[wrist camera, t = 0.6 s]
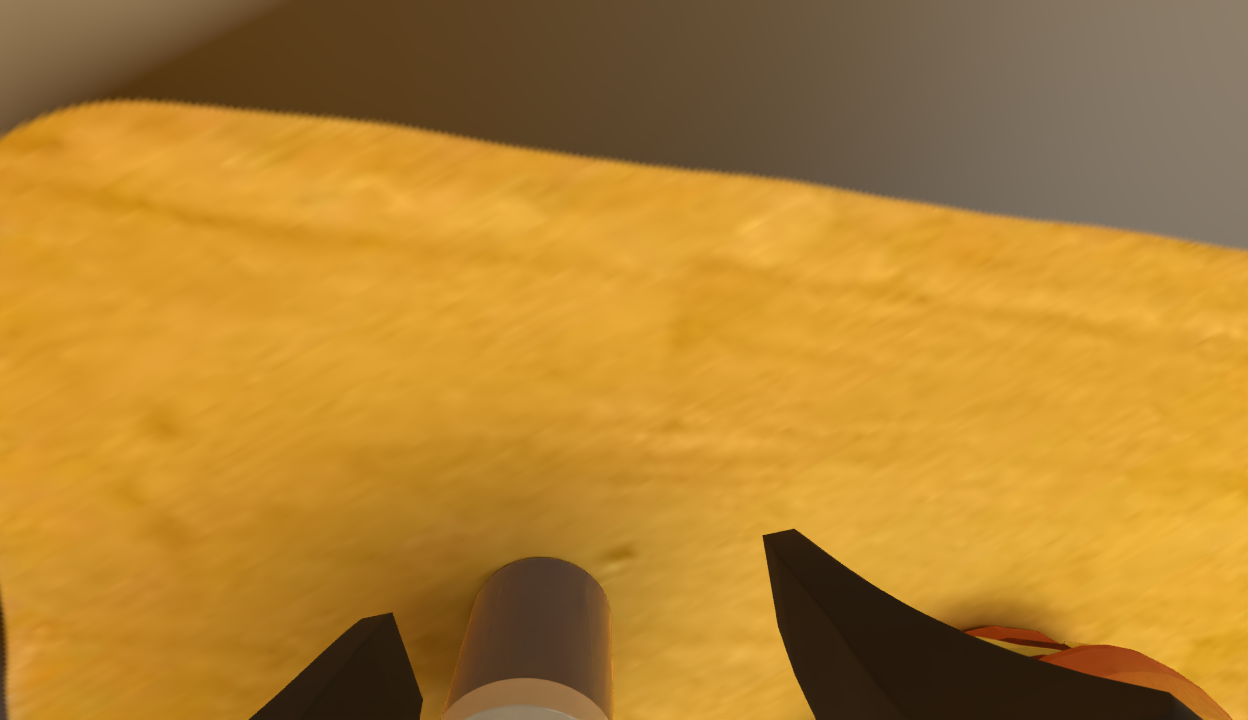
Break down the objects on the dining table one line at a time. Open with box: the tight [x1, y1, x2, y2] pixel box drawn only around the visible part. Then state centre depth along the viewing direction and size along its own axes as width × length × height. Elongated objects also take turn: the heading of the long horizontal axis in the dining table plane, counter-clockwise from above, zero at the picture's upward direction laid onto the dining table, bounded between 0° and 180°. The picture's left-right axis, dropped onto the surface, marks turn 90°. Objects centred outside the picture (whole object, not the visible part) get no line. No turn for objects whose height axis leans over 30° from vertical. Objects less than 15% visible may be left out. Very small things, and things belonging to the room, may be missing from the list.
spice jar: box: [440, 558, 614, 720], centre depth 21 cm, size 5×5×7 cm
